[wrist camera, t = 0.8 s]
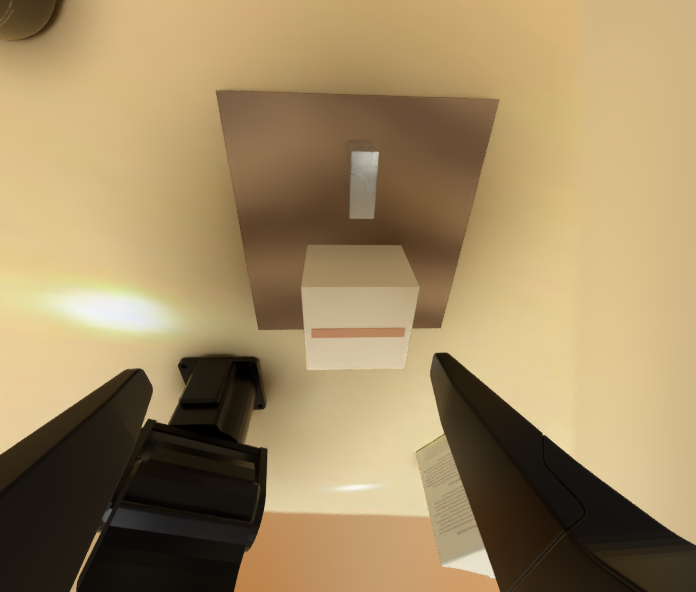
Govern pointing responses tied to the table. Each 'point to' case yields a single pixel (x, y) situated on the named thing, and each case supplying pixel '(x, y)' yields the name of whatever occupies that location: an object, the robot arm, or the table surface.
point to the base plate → (331, 186)
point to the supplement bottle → (23, 17)
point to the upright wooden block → (361, 179)
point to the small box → (451, 511)
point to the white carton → (357, 306)
